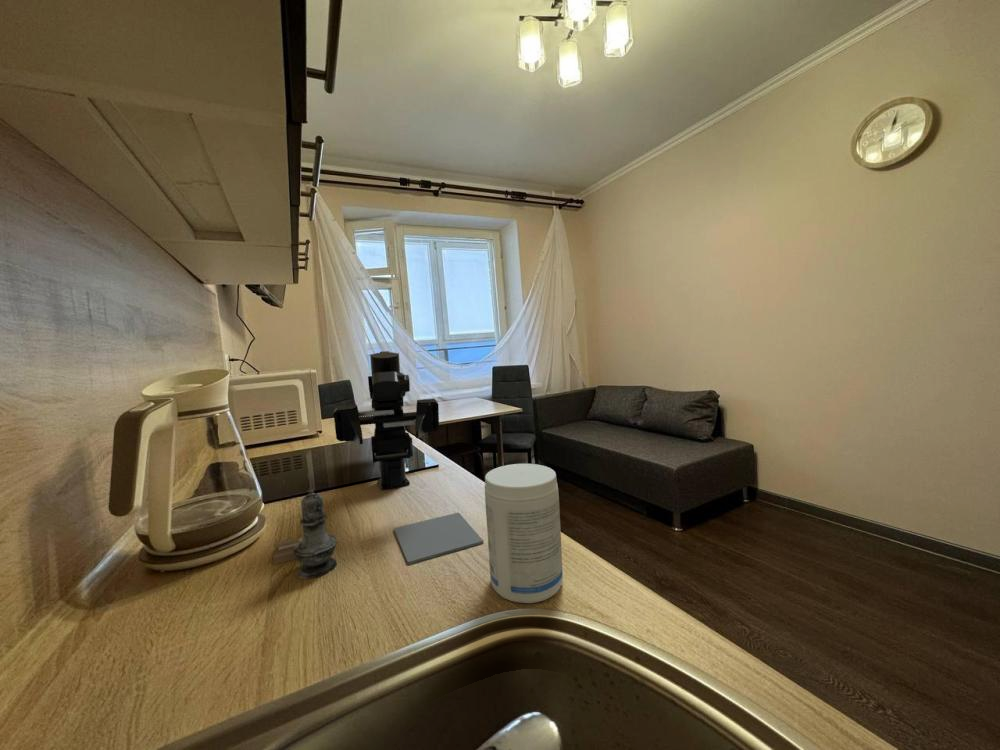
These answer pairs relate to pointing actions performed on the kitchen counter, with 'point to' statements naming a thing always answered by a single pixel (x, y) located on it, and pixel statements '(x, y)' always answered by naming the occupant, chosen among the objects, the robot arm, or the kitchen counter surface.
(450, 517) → the slate mat
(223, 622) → the kitchen counter surface
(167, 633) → the kitchen counter surface
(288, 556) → the letter tile
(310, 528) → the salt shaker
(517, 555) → the supplement tub
